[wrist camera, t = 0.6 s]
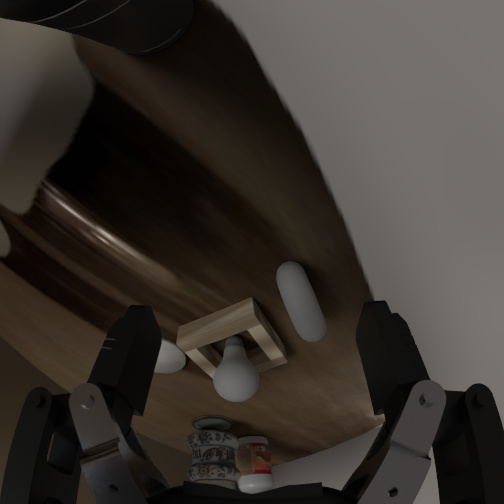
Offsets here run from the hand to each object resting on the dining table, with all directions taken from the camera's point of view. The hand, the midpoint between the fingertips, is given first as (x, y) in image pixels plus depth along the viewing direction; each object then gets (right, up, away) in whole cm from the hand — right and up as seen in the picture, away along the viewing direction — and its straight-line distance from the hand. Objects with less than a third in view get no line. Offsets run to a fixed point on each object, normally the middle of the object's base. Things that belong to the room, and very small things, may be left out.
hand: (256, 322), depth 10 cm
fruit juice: (0, -50, +56) cm, 75 cm away
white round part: (-15, -14, +32) cm, 39 cm away
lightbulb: (-3, -10, +32) cm, 33 cm away
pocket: (-3, -10, +31) cm, 33 cm away
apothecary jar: (-10, -38, +48) cm, 62 cm away
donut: (+5, -1, +27) cm, 27 cm away
